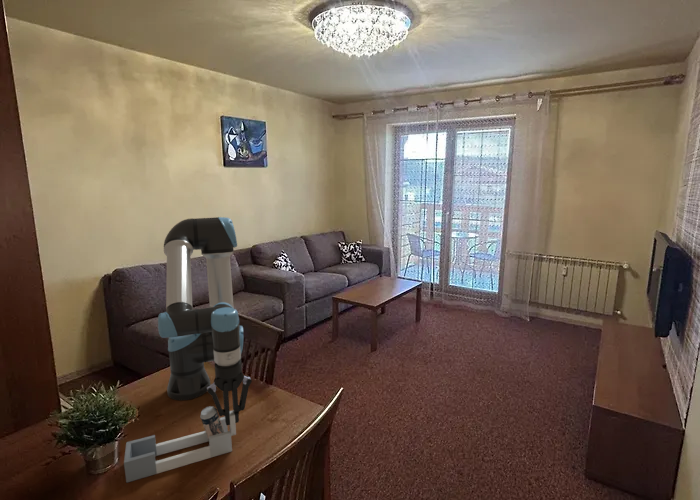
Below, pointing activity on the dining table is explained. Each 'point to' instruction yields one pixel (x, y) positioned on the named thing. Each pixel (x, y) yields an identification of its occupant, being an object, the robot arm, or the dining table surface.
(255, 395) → the dining table surface
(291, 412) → the dining table surface
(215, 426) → the beer can
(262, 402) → the dining table surface
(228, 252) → the robot arm
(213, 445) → the end-cap channel
